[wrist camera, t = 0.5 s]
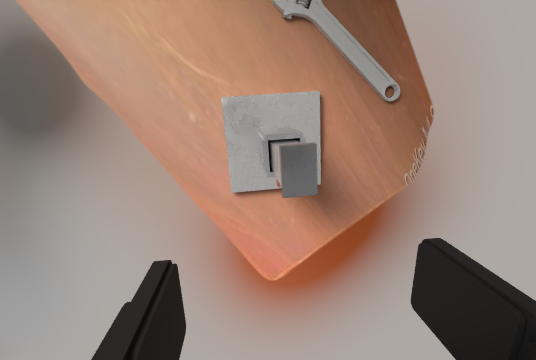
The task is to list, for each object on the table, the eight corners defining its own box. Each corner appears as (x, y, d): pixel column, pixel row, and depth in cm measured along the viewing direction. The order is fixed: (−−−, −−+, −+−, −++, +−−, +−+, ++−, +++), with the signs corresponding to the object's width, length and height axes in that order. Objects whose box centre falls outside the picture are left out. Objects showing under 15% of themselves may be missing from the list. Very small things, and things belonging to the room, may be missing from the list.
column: (263, 129, 38) (280, 146, 21) (283, 127, 38) (316, 143, 21) (265, 159, 39) (283, 198, 22) (285, 157, 40) (317, 194, 23)
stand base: (221, 97, 38) (213, 93, 27) (316, 91, 39) (346, 84, 28) (231, 189, 42) (228, 219, 31) (318, 181, 43) (344, 207, 32)
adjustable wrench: (398, 91, 41) (405, 91, 39) (367, 121, 42) (372, 122, 40) (289, -53, 34) (291, -61, 33) (254, -14, 35) (255, -20, 33)
